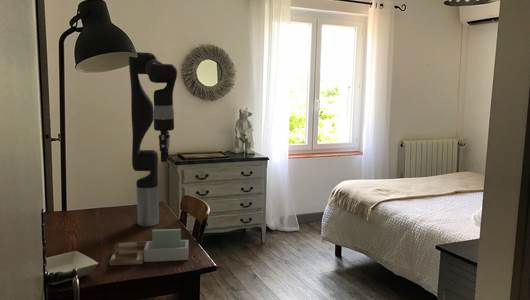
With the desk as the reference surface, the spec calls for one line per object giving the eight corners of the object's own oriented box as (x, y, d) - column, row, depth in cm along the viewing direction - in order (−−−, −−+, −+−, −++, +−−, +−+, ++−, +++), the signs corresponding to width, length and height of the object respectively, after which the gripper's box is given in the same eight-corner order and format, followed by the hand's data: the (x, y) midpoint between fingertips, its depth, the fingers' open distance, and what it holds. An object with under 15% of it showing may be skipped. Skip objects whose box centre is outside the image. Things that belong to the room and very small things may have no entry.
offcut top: (119, 250, 164) (118, 243, 164) (136, 249, 166) (136, 242, 165) (118, 254, 161) (118, 247, 160) (136, 252, 162) (136, 245, 162)
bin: (147, 252, 174) (146, 241, 173) (188, 250, 176) (188, 239, 175) (144, 261, 165) (143, 250, 164) (188, 259, 167) (187, 248, 166)
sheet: (153, 253, 170) (152, 229, 169) (181, 252, 172) (180, 228, 170) (152, 255, 169) (152, 231, 168) (180, 254, 170) (180, 230, 169)
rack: (116, 251, 174) (116, 242, 174) (146, 250, 176) (146, 241, 176) (109, 265, 161) (109, 255, 161) (142, 263, 163) (142, 254, 162)
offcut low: (117, 257, 165) (117, 250, 165) (137, 256, 166) (137, 249, 166) (115, 260, 161) (115, 253, 161) (136, 259, 162) (136, 253, 162)
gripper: (155, 116, 183) (156, 157, 186) (151, 119, 169) (153, 163, 172) (174, 116, 184) (175, 157, 187) (172, 118, 170) (173, 162, 173)
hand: (164, 160), depth 179 cm, fingers open, 8 cm apart
